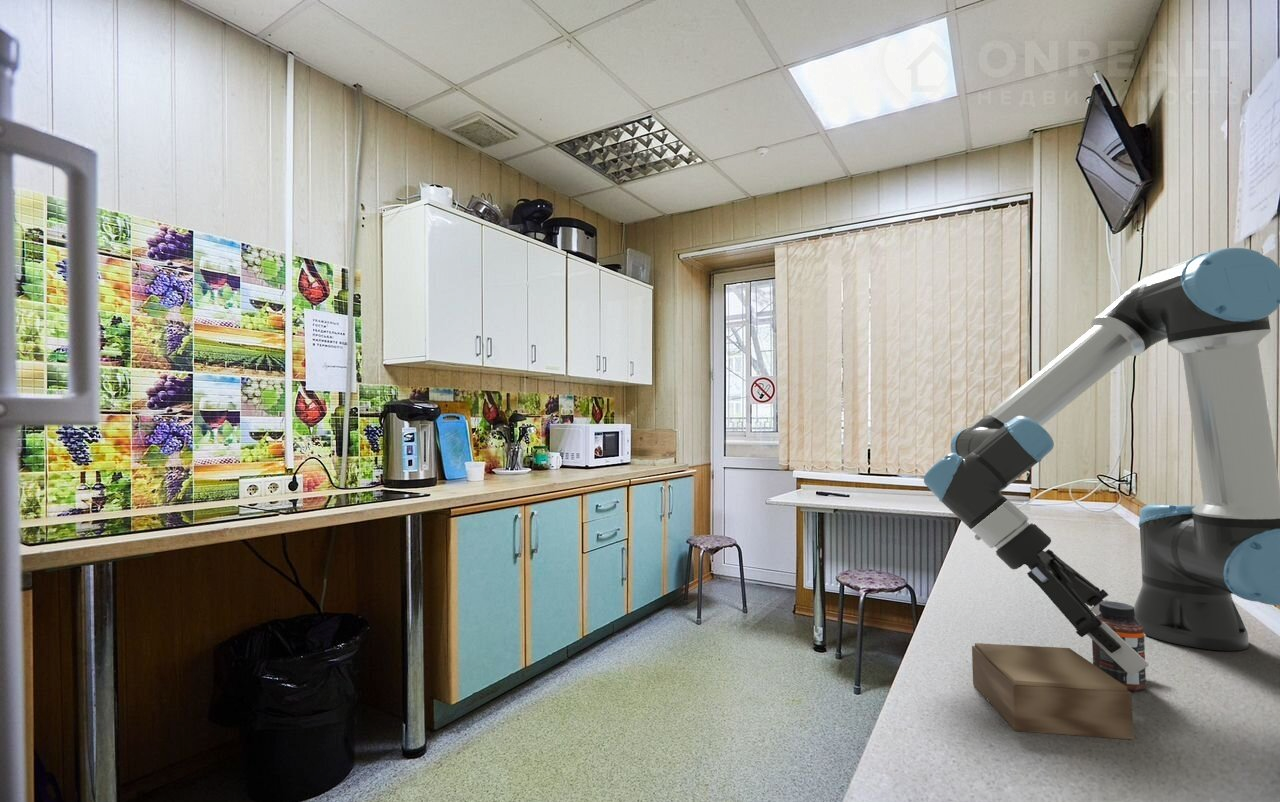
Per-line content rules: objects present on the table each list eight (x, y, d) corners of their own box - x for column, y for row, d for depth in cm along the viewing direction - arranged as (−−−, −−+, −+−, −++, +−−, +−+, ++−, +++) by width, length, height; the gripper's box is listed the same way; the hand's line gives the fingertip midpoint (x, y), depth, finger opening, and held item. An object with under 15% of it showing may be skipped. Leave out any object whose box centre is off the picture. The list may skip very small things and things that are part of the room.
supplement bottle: (1150, 696, 80) (1147, 613, 81) (1096, 686, 84) (1093, 606, 84) (1141, 680, 86) (1138, 602, 86) (1090, 671, 89) (1088, 596, 89)
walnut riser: (1071, 690, 82) (1070, 647, 83) (1133, 739, 70) (1131, 688, 70) (972, 684, 85) (971, 642, 85) (1014, 730, 72) (1013, 681, 72)
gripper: (1005, 538, 105) (1115, 643, 94) (979, 565, 85) (1114, 699, 75) (1039, 511, 101) (1158, 616, 91) (1020, 533, 82) (1168, 669, 72)
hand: (1138, 654), depth 83 cm, fingers open, 13 cm apart
